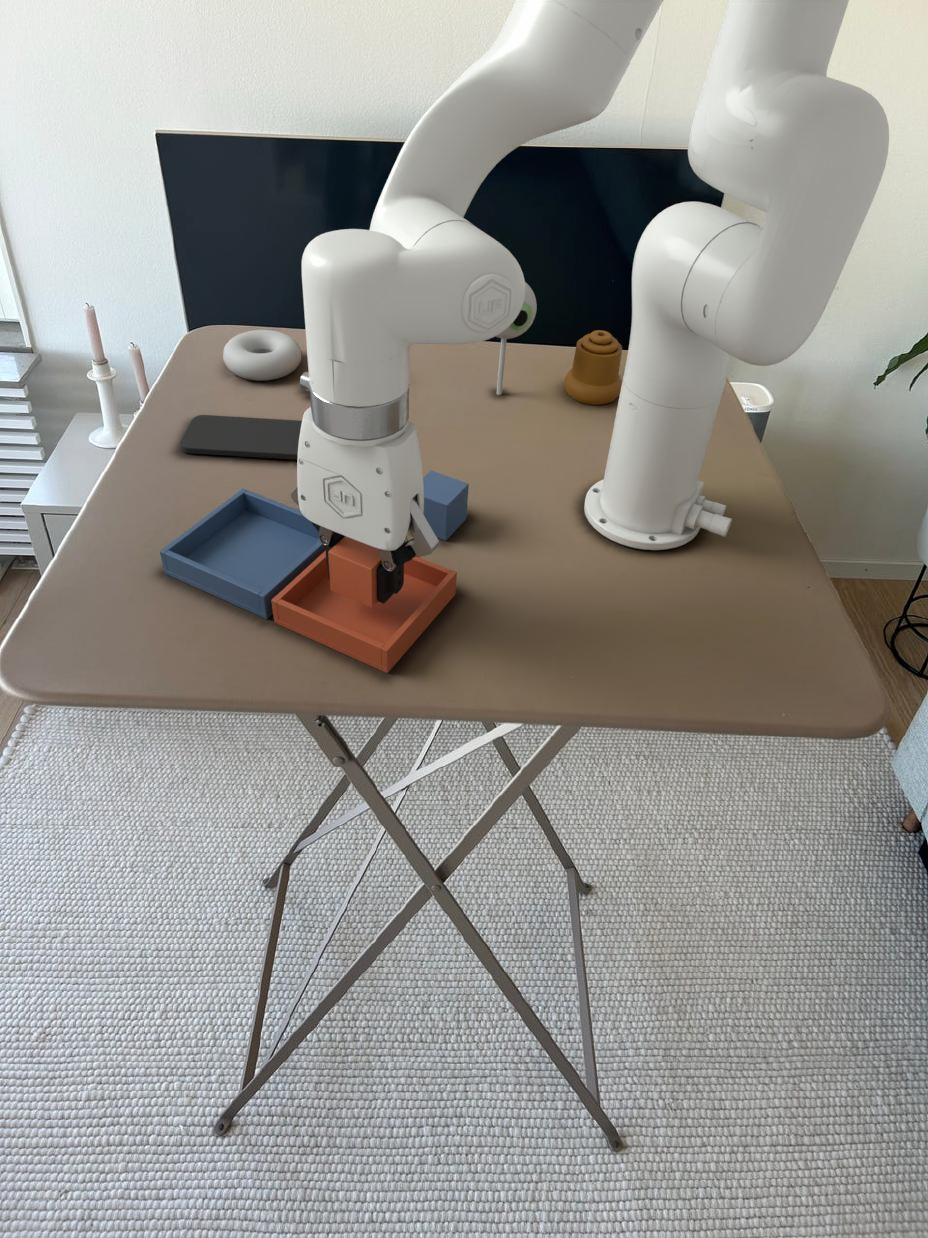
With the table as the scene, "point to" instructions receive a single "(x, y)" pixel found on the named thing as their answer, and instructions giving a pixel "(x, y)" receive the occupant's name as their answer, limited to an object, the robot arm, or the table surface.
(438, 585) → the terracotta bin
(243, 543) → the slate bin
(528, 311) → the lollipop
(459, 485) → the slate block
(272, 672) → the table surface
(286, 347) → the donut
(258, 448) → the phone
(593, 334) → the ornamental finial
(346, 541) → the terracotta block
